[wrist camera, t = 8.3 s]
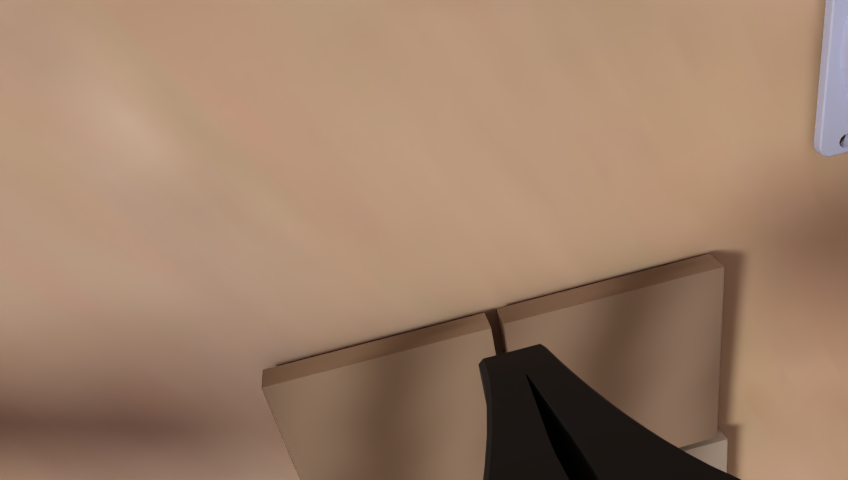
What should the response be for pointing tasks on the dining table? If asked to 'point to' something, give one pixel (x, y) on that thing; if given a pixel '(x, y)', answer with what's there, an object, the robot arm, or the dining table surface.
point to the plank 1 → (388, 406)
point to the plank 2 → (638, 343)
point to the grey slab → (710, 451)
